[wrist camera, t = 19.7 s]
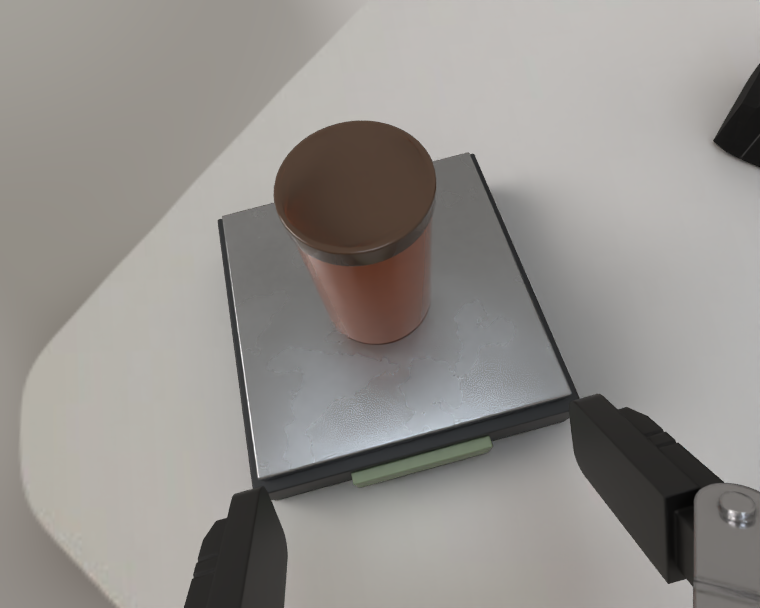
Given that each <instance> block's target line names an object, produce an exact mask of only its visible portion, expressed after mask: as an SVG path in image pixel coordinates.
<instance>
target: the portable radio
mask: <svg viewBox="0 0 760 608" xmlns="http://www.w3.org/2000/svg"><path fill="white" fill-rule="evenodd" d="M714 142H715V143H716V144H718V145H719V146H720V147H721V148H723V149H724V150H725V151H726V152H728V153H730V154H732V155H734V156H736V157H738V158H740V159H742V160H745V161H747V162H750V163H752V164H755V165H757V166H760V64H759V65H758V66H757V68H756V69H755V71H754V72H753V73H752V75H751V76H750V78H749V79H748V81H747V83H746V84H745V86H744V88H743V90H742V91H741V93H740V95H739V97H738V98H737V100H736V102H735V104H734V105H733V107H732V109H731V111H730V112H729V114H728V116H727V118H726V119H725V121H724V123H723V125H722V126H721V128H720V130H719V131H718V133H717V135H716V137H715V138H714Z"/></svg>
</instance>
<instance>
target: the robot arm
mask: <svg viewBox="0 0 760 608" xmlns="http://www.w3.org/2000/svg"><path fill="white" fill-rule="evenodd" d="M569 415H570V424H571V432H572V440H573V449H574V454H575V457H576V460H577V463H578V465H579V467H580V469H581V471H582V473H583V474H584V475H585V477H586V478H587V479H588V481H589V482H590V483H591V485H592V486H593V487H594V488H595V490H596V491H597V492H598V494H599V495H600V496H601V498H602V499H603V500H604V501H605V503H606V504H607V505H608V507H609V508H610V509H611V510H612V512H613V513H614V514H615V516H616V517H617V518H618V520H619V521H620V522H621V523H622V525H623V526H624V527H625V529H626V530H627V531H628V532H629V534H630V535H631V536H632V538H633V539H634V540H635V542H636V543H637V544H638V545H639V547H640V548H641V549H642V551H643V552H644V553H645V555H646V556H647V557H648V558H649V560H650V561H651V562H652V564H653V565H654V566H655V567H656V569H657V570H658V571H659V573H660V574H661V575H662V577H663V578H664V579H665V580H666V582H667V583H668V584H670V583H673V582H677V581H680V580H684V579H687V580H688V581H689V582H690V584H691V585H692V586H693V608H760V492H759V491H757V490H754V489H752V488H749V487H746V486H743V485H738V484H732V483H724V482H723V481H722V480H721V479H720V478H719V477H717V476H716V475H715V474H714V473H713V472H712V471H710V470H709V469H708V468H707V467H706V466H705V465H703V464H702V463H701V462H700V461H699V460H698V459H697V458H695V457H694V456H693V455H692V454H691V453H690V452H688V451H687V450H686V449H685V448H684V447H683V446H682V445H680V444H679V443H676V441H675V439H673V438H672V437H671V436H670V435H669V434H668V433H667V432H664V431H663V429H662V428H661V427H660V426H658V425H657V424H656V423H655V422H654V421H653V420H652V419H650V418H649V417H648V416H646V415H644V414H642V413H639V412H637V411H635V410H632V409H630V408H628V407H625V408H622V409H616V408H615V407H614V406H613V405H612V404H611V403H610V402H609V401H608V400H607V399H606V398H605V397H604V396H602V395H601V394H595V395H592V396H588V397H584V398H581V399H577V400H574V401H571V402H570V403H569ZM287 559H288V552H287V543H286V538H285V534H284V531H283V528H282V526H281V523H280V521H279V518H278V516H277V514H276V511H275V509H274V506H273V504H272V501H271V499H270V496H269V494H268V492H267V490H266V488H265V487H264V486H261V487H258V488H254V489H251V490H247V491H244V492H240V493H236V494H234V495H233V497H232V500H231V504H230V508H229V512H228V517H227V518H225V519H222V520H218V521H216V522H215V523H214V525H213V526H212V528H211V529H210V531H209V532H208V533H207V535H206V536H205V538H204V539H203V542H202V546H201V549H200V553H199V556H198V563H196V567H195V570H194V574H193V576H194V579H192V581H191V584H190V588H189V591H188V595H187V599H186V602H185V606H184V608H284V600H285V586H286V572H287Z"/></svg>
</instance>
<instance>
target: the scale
mask: <svg viewBox="0 0 760 608" xmlns="http://www.w3.org/2000/svg"><path fill="white" fill-rule="evenodd" d="M470 156H471V158H472V160H473V163H474V165H475V167H476V170H477V172H478V174H479V177H480V179H481V181H482V184H483V186H484V188H485V191H486V193H487V195H488V198H489V200H490V202H491V205H492V207H493V209H494V212H495V214H496V216H497V219H498V221H499V223H500V226H501V228H502V230H503V233H504V235H505V238H506V240H507V242H508V245H509V247H510V249H511V252H512V254H513V256H514V259H515V261H516V263H517V266H518V268H519V270H520V273H521V275H522V277H523V280H524V282H525V284H526V287H527V289H528V291H529V294H530V296H531V298H532V301H533V303H534V305H535V308H536V310H537V312H538V315H539V317H540V319H541V322H542V324H543V327H544V329H545V331H546V334H547V336H548V338H549V341H550V343H551V345H552V348H553V350H554V352H555V355H556V357H557V359H558V362H559V364H560V366H561V369H562V371H563V373H564V376H565V378H566V380H567V383H568V385H569V387H570V390H571V392H572V394H571V395H570V396H569V397H568V398H567V399H563V400H560V401H556V402H552V403H549V404H545V405H541V406H538V407H534V408H530V409H527V410H523V411H519V412H516V413H512V414H508V415H505V416H501V417H497V418H494V419H490V420H486V421H483V422H479V423H475V424H472V425H468V426H464V427H461V428H457V429H453V430H450V431H446V432H443V433H439V434H435V435H432V436H428V437H424V438H421V439H417V440H413V441H410V442H406V443H402V444H399V445H395V446H391V447H388V448H384V449H380V450H377V451H373V452H369V453H366V454H362V455H358V456H355V457H351V458H347V459H344V460H340V461H336V462H333V463H329V464H325V465H322V466H318V467H314V468H311V469H307V470H304V471H300V472H296V473H293V474H289V475H285V476H282V477H278V478H274V479H271V480H267V481H262V480H258V478H257V470H256V463H255V456H254V448H253V441H252V434H251V426H250V419H249V412H248V404H247V397H246V390H245V382H244V375H243V368H242V360H241V353H240V346H239V338H238V331H237V324H236V316H235V309H234V302H233V294H232V287H231V280H230V272H229V265H228V258H227V250H226V243H225V236H224V228H223V221H222V219H219V220H218V228H219V235H220V243H221V251H222V258H223V266H224V274H225V281H226V289H227V296H228V304H229V312H230V319H231V327H232V335H233V342H234V350H235V357H236V365H237V373H238V380H239V388H240V396H241V403H242V411H243V418H244V426H245V434H246V441H247V449H248V456H249V464H250V472H251V479H252V487H253V489H254V488H258V487H261V486H264V487H265V488H266V490H267V492H268V494H269V496H270V499H271V500H279V499H283V498H286V497H290V496H294V495H297V494H301V493H305V492H308V491H312V490H315V489H319V488H323V487H326V486H330V485H334V484H337V483H341V482H345V481H348V480H353V484H354V485H355V486H357V487H359V488H361V487H364V486H368V485H372V484H375V483H379V482H382V481H386V480H390V479H393V478H397V477H401V476H404V475H408V474H412V473H415V472H419V471H422V470H426V469H430V468H433V467H437V466H441V465H444V464H448V463H451V462H455V461H459V460H462V459H466V458H470V457H473V456H477V455H481V454H484V453H487V452H488V451H489V450H490V449H491V448H492V447H493V445H492V442H491V441H494V440H498V439H501V438H505V437H508V436H512V435H516V434H519V433H523V432H527V431H530V430H534V429H538V428H541V427H545V426H549V425H552V424H556V423H559V422H563V421H565V420H566V419H568V418H569V417H570V415H569V403H570V402H571V401H574V400H577V399H580V398H579V396H578V393H577V391H576V389H575V387H574V384H573V382H572V380H571V377H570V375H569V373H568V370H567V368H566V366H565V363H564V361H563V359H562V356H561V354H560V352H559V349H558V347H557V345H556V343H555V340H554V338H553V336H552V333H551V331H550V329H549V326H548V324H547V322H546V319H545V317H544V315H543V312H542V310H541V308H540V305H539V303H538V301H537V299H536V296H535V294H534V292H533V289H532V287H531V285H530V282H529V280H528V278H527V275H526V273H525V271H524V268H523V266H522V264H521V261H520V259H519V257H518V255H517V252H516V250H515V248H514V245H513V243H512V241H511V238H510V236H509V234H508V231H507V229H506V227H505V224H504V222H503V220H502V217H501V215H500V213H499V211H498V208H497V206H496V204H495V201H494V199H493V197H492V194H491V192H490V190H489V187H488V185H487V183H486V180H485V178H484V176H483V174H482V171H481V169H480V167H479V164H478V162H477V160H476V157H475V155H474V154H470Z"/></svg>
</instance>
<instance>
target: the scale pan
mask: <svg viewBox="0 0 760 608" xmlns="http://www.w3.org/2000/svg"><path fill="white" fill-rule="evenodd" d="M433 164H434V167H435V171H436V178H437V189H436V205H435V210H434V213H433V224H432V270H431V300H430V305H429V308H428V311H427V313H426V315H425V317H424V319H423V320H422V321H421V323H420V324H419V325H418V326H417V327H416V328H415V329H414V330H413V331H412V332H411V333H409V334H407V335H406V336H404V337H402V338H400V339H398V340H395V341H392V342H388V343H383V344H368V343H363V342H359V341H356V340H354V339H352V338H349V337H348V336H346V335H345V334H343V333H342V332H341V331H340V330H338V329H337V327H336V326H335V325H334V324H333V322H332V321H331V319H330V317H329V315H328V313H327V311H326V309H325V307H324V305H323V302H322V300H321V298H320V296H319V294H318V292H317V290H316V287H315V285H314V283H313V281H312V279H311V277H310V275H309V272H308V270H307V268H306V266H305V264H304V262H303V260H302V257H301V255H300V253H299V251H298V249H297V247H296V245H295V243H294V242H293V241H292V240H291V239H290V237H289V236H288V234H287V233H286V231H285V229H284V227H283V225H282V222H281V220H280V218H279V216H278V214H277V211H276V208H275V203H271V204H267V205H263V206H259V207H256V208H252V209H248V210H244V211H240V212H236V213H232V214H229V215H225V216H222V221H223V228H224V236H225V243H226V250H227V258H228V265H229V272H230V280H231V287H232V294H233V302H234V309H235V316H236V324H237V331H238V338H239V346H240V353H241V360H242V368H243V375H244V382H245V390H246V397H247V404H248V412H249V419H250V426H251V434H252V441H253V448H254V456H255V463H256V470H257V478H258V480H262V481H267V480H271V479H274V478H278V477H282V476H285V475H289V474H293V473H296V472H300V471H304V470H307V469H311V468H314V467H318V466H322V465H325V464H329V463H333V462H336V461H340V460H344V459H347V458H351V457H355V456H358V455H362V454H366V453H369V452H373V451H377V450H380V449H384V448H388V447H391V446H395V445H399V444H402V443H406V442H410V441H413V440H417V439H421V438H424V437H428V436H432V435H435V434H439V433H443V432H446V431H450V430H453V429H457V428H461V427H464V426H468V425H472V424H475V423H479V422H483V421H486V420H490V419H494V418H497V417H501V416H505V415H508V414H512V413H516V412H519V411H523V410H527V409H530V408H534V407H538V406H541V405H545V404H549V403H552V402H556V401H560V400H563V399H567V398H568V397H569V396H570V395H571V394H572V392H571V390H570V387H569V385H568V383H567V380H566V378H565V376H564V373H563V371H562V369H561V366H560V364H559V362H558V359H557V357H556V355H555V352H554V350H553V348H552V345H551V343H550V341H549V338H548V336H547V334H546V331H545V329H544V327H543V324H542V322H541V319H540V317H539V315H538V312H537V310H536V308H535V305H534V303H533V301H532V298H531V296H530V294H529V291H528V289H527V287H526V284H525V282H524V280H523V277H522V275H521V273H520V270H519V268H518V266H517V263H516V261H515V259H514V256H513V254H512V252H511V249H510V247H509V245H508V242H507V240H506V238H505V235H504V233H503V230H502V228H501V226H500V223H499V221H498V219H497V216H496V214H495V212H494V209H493V207H492V205H491V202H490V200H489V198H488V195H487V193H486V191H485V188H484V186H483V184H482V181H481V179H480V177H479V174H478V172H477V170H476V167H475V165H474V163H473V160H472V158H471V156H470V153H464V154H460V155H456V156H452V157H448V158H445V159H441V160H437V161H433Z"/></svg>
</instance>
